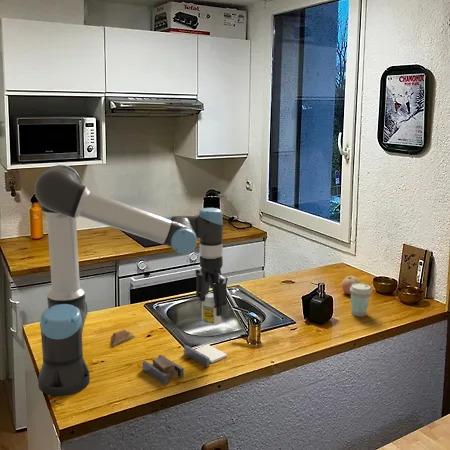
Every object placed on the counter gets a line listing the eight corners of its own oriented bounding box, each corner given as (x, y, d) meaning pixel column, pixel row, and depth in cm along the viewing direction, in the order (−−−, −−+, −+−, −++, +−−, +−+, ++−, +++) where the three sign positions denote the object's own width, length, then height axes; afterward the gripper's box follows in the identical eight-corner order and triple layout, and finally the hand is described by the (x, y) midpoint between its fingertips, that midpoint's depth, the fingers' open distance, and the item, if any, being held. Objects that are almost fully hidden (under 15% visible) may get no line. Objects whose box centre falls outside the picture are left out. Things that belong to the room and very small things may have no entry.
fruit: (337, 292, 249) (338, 275, 247) (351, 289, 253) (352, 273, 251) (349, 297, 243) (350, 280, 241) (362, 295, 246) (364, 278, 244)
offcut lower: (167, 382, 171) (167, 374, 170) (151, 371, 177) (151, 364, 176) (177, 378, 173) (177, 370, 173) (161, 367, 180) (161, 360, 179)
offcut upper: (163, 374, 170) (163, 368, 170) (152, 364, 176) (152, 359, 175) (174, 370, 173) (174, 364, 172) (163, 361, 178) (163, 355, 178)
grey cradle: (164, 384, 168) (164, 375, 167) (142, 370, 177) (142, 361, 176) (209, 366, 180) (209, 357, 179) (186, 353, 189) (186, 345, 188)
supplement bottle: (220, 319, 187) (220, 292, 185) (217, 325, 182) (217, 298, 180) (204, 318, 188) (204, 291, 186) (201, 324, 183) (201, 297, 181)
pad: (211, 363, 182) (211, 360, 182) (192, 352, 189) (192, 350, 189) (227, 356, 187) (227, 354, 187) (207, 346, 194) (207, 344, 194)
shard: (112, 348, 192) (111, 344, 191) (98, 342, 196) (98, 337, 196) (135, 338, 200) (135, 334, 199) (122, 332, 205) (122, 328, 204)
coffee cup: (361, 319, 219) (363, 291, 216) (343, 313, 226) (346, 285, 223) (373, 314, 225) (376, 287, 222) (356, 308, 231) (358, 281, 228)
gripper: (238, 259, 175) (238, 326, 181) (201, 247, 189) (202, 310, 194) (221, 264, 170) (221, 333, 176) (184, 251, 184) (185, 316, 189)
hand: (211, 321), depth 185 cm, fingers closed on supplement bottle, 5 cm apart
